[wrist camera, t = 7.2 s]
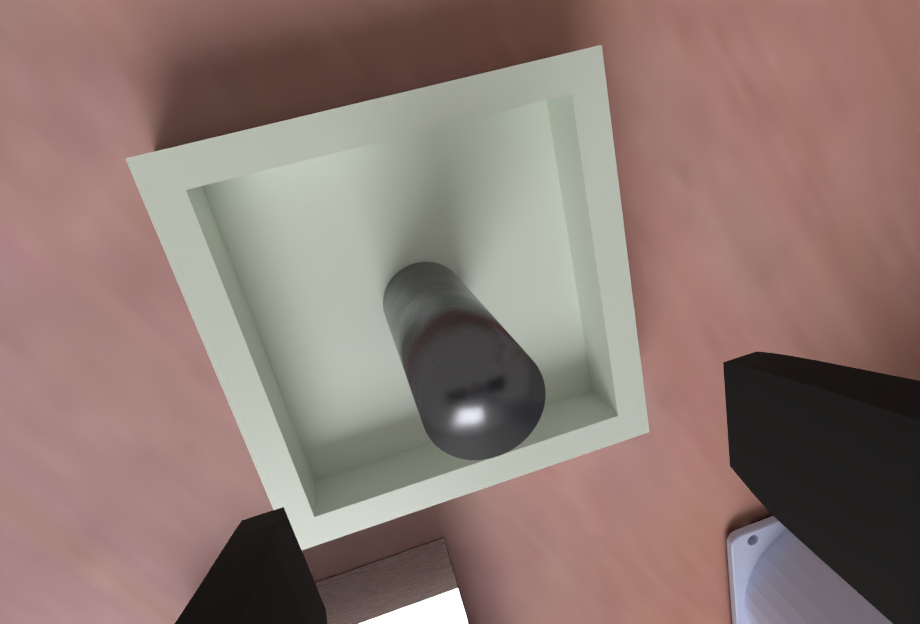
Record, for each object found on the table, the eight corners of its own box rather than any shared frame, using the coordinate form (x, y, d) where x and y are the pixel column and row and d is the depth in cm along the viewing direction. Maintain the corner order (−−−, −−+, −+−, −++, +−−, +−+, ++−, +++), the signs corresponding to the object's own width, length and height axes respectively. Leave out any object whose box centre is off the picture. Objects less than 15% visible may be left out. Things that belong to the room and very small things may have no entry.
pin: (458, 253, 18) (538, 329, 11) (470, 331, 19) (551, 442, 12) (375, 271, 17) (410, 360, 11) (391, 349, 18) (432, 474, 12)
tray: (564, 54, 17) (601, 44, 15) (614, 398, 22) (649, 432, 19) (154, 153, 16) (125, 158, 13) (295, 503, 20) (292, 553, 18)
